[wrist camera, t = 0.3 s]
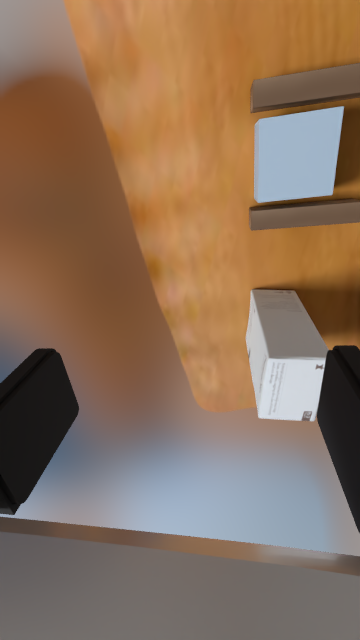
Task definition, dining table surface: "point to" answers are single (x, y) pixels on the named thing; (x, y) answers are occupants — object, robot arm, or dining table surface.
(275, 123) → the block
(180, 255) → the dining table surface
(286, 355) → the skincare box
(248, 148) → the dining table surface
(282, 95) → the brown parallel rails
